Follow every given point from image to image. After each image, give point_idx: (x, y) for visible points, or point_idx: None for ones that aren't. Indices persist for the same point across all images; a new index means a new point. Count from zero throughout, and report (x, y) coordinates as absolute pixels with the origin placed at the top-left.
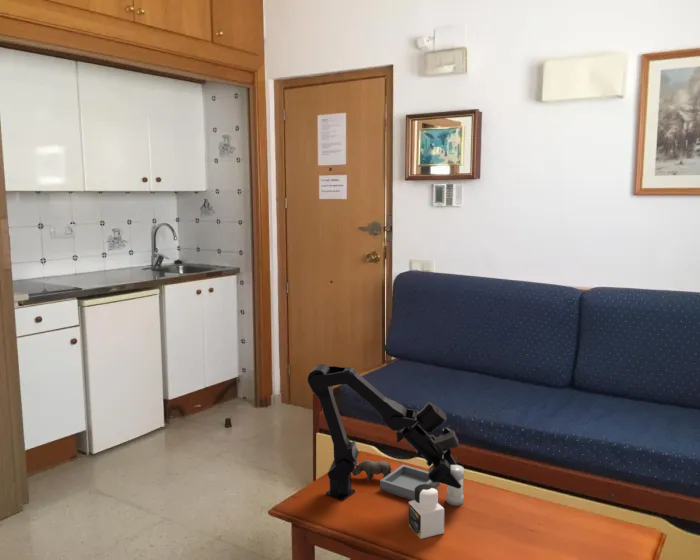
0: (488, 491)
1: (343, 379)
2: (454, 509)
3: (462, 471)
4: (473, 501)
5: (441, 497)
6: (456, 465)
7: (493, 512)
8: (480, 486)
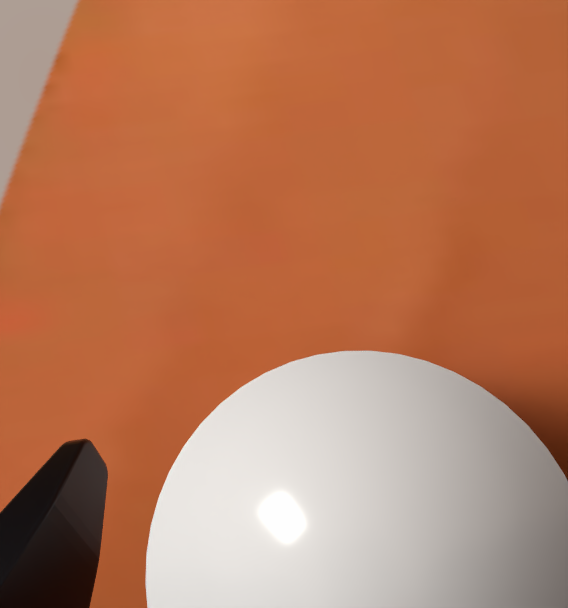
0: (91, 185)
1: None
2: None
3: (445, 370)
4: (295, 281)
5: None
6: (174, 565)
7: (430, 103)
8: (19, 259)
